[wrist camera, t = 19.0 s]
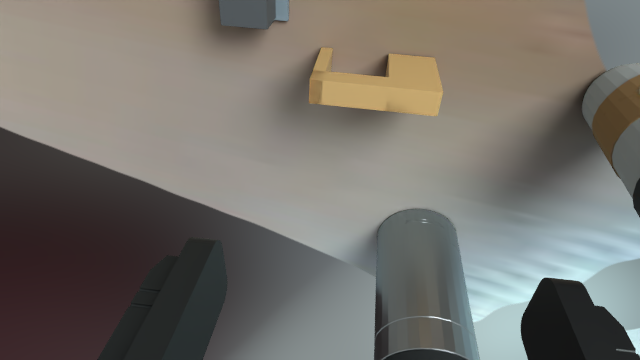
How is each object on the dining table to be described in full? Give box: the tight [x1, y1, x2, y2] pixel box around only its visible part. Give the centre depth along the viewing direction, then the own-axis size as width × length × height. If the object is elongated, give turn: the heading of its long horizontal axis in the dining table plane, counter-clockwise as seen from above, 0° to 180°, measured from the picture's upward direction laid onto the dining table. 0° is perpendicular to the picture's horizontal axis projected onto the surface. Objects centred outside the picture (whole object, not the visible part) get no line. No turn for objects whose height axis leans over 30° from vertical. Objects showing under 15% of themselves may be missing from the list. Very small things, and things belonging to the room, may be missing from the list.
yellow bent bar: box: [309, 47, 443, 116], centre depth 34 cm, size 2×10×7 cm, turn 87°
